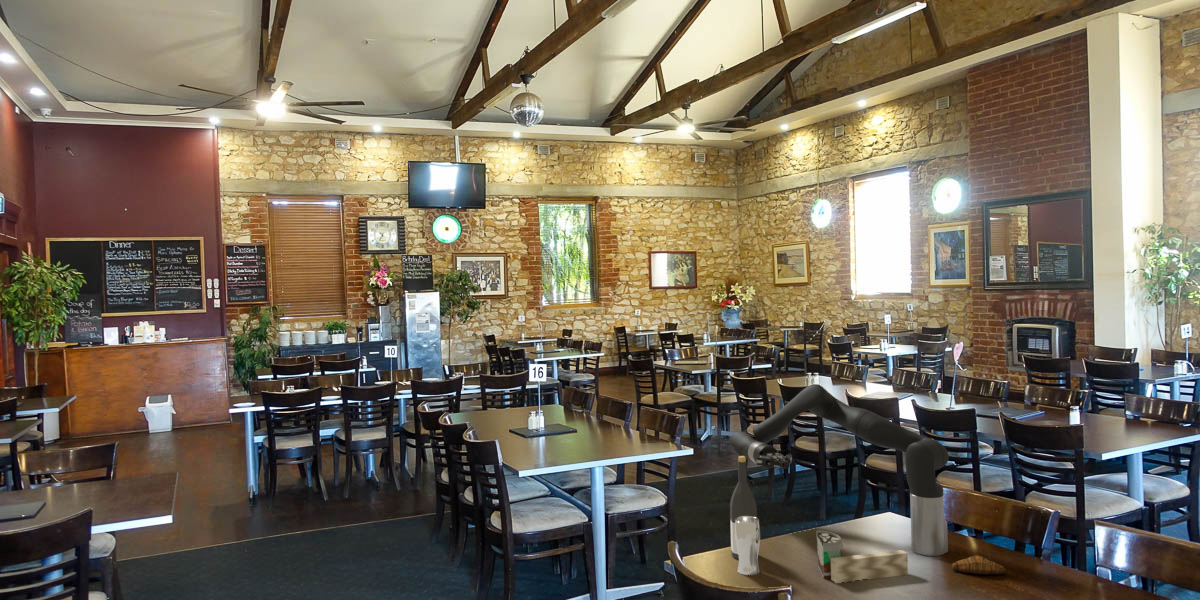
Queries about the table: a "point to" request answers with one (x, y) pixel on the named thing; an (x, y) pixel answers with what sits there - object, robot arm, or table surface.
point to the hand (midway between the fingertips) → (786, 465)
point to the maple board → (869, 566)
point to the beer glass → (747, 544)
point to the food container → (827, 550)
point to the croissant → (978, 566)
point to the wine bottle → (741, 503)
